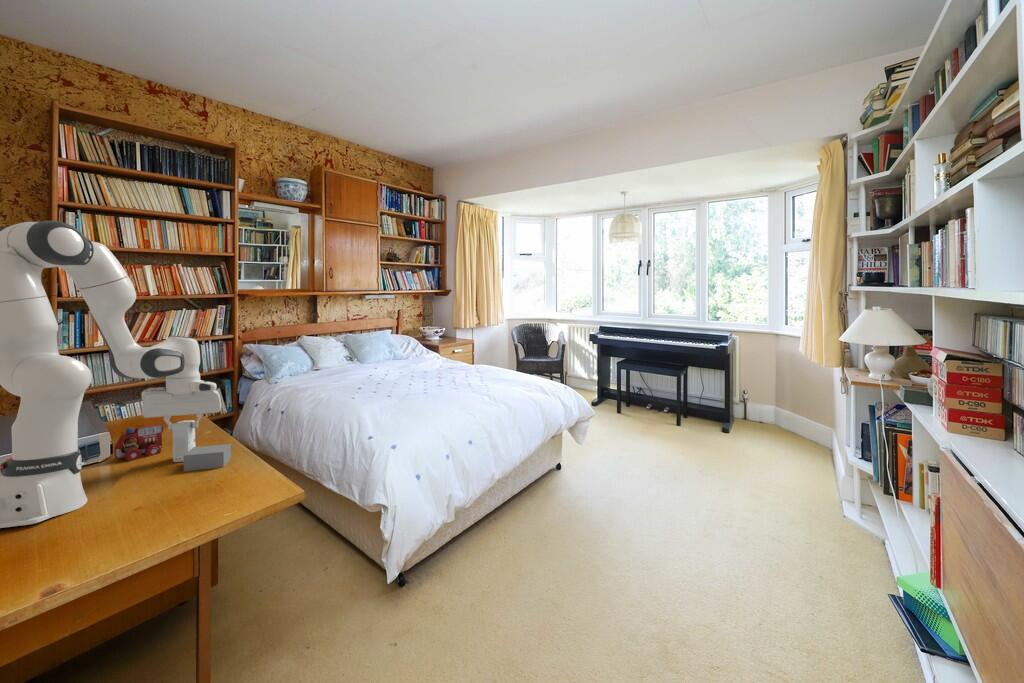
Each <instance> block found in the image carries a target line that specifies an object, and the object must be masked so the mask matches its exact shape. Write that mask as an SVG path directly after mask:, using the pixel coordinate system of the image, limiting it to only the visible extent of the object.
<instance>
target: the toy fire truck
mask: <svg viewBox="0 0 1024 683" xmlns="http://www.w3.org/2000/svg"><path fill="white" fill-rule="evenodd" d="M163 432H164V424H160V423H159V424H152V425H145V426H140V427H139V426H137V427H136V428H135V429H134V428H132V427H127V428H126V430H125V433H124V434H121V435H120V437H119V438H118V440H117V441H116V442H115V445H114V447H113V452H114V457H115V459H123V458H124V459H125V460H126V461H128V462H130V461H135V460H138V459H140V458H141V456H142V454H143V455H145V456H146V457H151V456H155V455H159V454H160V455H161V452H162V449H163V437H162V436H163V435H162V434H163Z"/></svg>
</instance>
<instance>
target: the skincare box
mask: <svg viewBox="0 0 1024 683" xmlns="http://www.w3.org/2000/svg"><path fill="white" fill-rule="evenodd" d="M193 422H196V421H195V420H193V419H192V420H180V421H178V422H175V423H172V424H173V425H172V429H173V430H172V458H173V459H172V461H173V462H174V463H180V462H183V463H184V458H183V456H184V455H185V454H186V453H187V452H189V451H190V450H191V449H192V448H193V447H196V428H192V426H193V425H192V423H193Z"/></svg>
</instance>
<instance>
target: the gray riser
mask: <svg viewBox="0 0 1024 683" xmlns="http://www.w3.org/2000/svg"><path fill="white" fill-rule="evenodd" d="M183 458H184V461H183V472H192V471H201V470H210V469H220V468H224V467H225V466H226V465H227V464H228V463H229V461H230V460H231V459H232V444H231V443H227V444H217V445H216V444H215V445H206V446H205V445H204V446H195V447H193V448H192V449H191V450H190V451H189V452H187V453H186V454H185V455H184V456H183ZM230 458H231V459H230Z"/></svg>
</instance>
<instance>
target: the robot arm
mask: <svg viewBox="0 0 1024 683" xmlns="http://www.w3.org/2000/svg"><path fill="white" fill-rule="evenodd" d="M56 267H58V268H59V269H61V270H63V271H65V273H67V274H68V276H70V278H71V280H72V281H73V283H74V285H75V287H76V288H77V290H78V292H79V293H80V295H81V296H82V298H83V300H84V301H85V303H86V305H87V306H88V309H89V311H90V315H91V317H92V319H93V322H94V323H95V327H96V328H97V330H98V332H99V333H100V336H101V337H102V340H103V342H104V344H105V345H106V347H107V349H108V351H109V358H110V360H109V361H110V367H111V369H112V371H113V372H114V373H115V374H116V375H118V376H119V377H121V378H124V379H127V380H136V379H147V380H148V379H154V380H155V379H161V378H165V386H159V387H147V388H146V389H144V390H143V391H142V392H141V394H140V396H141V401H142V402H143V404H142V410H141V411H142V413H141V415H142V417H144V418H145V419H148V418H160V417H161V418H163V421H164V422H165V423H166V425H167V427H168V428H167V429H168V431H173V429H172V425H173V424H174V423H172V422H171V421H170V419H171V417H172V416H173V417H174V416H188V415H196V418H197V420H196V421H195V422H193V423H192V425H193V426H192V428H195V429H196V428H197V429H198V428H199V422H200V421H201V419H202V417H203V414H215V413H220V412H221V410H222V401H221V399H222V398H221V395H220V393H219V391H218V390H217V383H216V382H213V381H208V380H207V381H206V380H202V379H201V373H200V371H199V370H200V369H199V368H200V364H201V353H200V352H201V351H200V345H199V342H198V341H197V339H195V338H193V337H188V336H181V335H171V336H168V337H167V339H165V340H163V341H162V342H160V343H157V344H154V345H151V346H141V345H139V344H138V343H137V342H136V341H135V339H134V338H133V336H132V334H131V332H130V329H129V327H128V325H127V323H126V320H125V314H126V313H127V311H128V310H129V309H130V308H131V307H132V306H133V305H134V303H135V302H136V300H137V292H136V289H135V288H136V287H135V285H134V284H133V282H132V280H131V279H130V277H129V275H128V274H127V272H126V270H125V269H124V267H123V266H122V264H121V263H120V261H119V260H118V259H117V257H116V256H115V255H114V254H113V252H112V251H111V250H110V249H109V248H108V247H107V246H106V245H105V244H102V243H100V242H97V241H91V240H90V239H89V238H87V237H86V236H85V235H84V233H83V232H82V231H81V230H79V229H78V228H76V227H75V226H74V225H71V224H69V223H67V222H66V223H65V222H62V221H58V220H57V221H56V220H42V221H26V222H19V223H15V224H13V225H7V226H4V227H1V228H0V386H1V387H2V388H3V389H4V390H5V391H7V393H9V394H12V395H14V396H16V397H20V401H19V407H18V412H17V415H16V418H15V420H14V422H13V423H12V425H11V450H12V451H11V453H12V454H11V456H10V457H8V458H6V459H5V460H4V461H3V462H2V463H0V474H1V475H0V529H2V528H11V527H18V526H27V525H33V524H34V525H35V524H37V523H40V522H42V521H43V522H44V521H45V520H48V519H50V518H53V517H57V516H60V515H65V514H67V513H70V512H73V511H75V510H78V509H80V508H82V507H84V506H85V505H86V503H87V502H88V497H87V495H86V493H85V489H84V486H83V482H82V476H81V471H82V460H83V459H82V454H81V449H79V428H78V426H79V425H78V424H79V416H80V410H81V407H82V403H83V398H84V396H85V391H86V390H87V389H88V388H89V387H90V385H91V383H92V372H91V370H90V368H89V367H88V366H87V365H86V364H84V363H83V362H81V361H80V360H78V359H76V358H74V357H71V356H67V355H61V354H60V353H59V347H58V331H59V324H58V321H57V319H56V315H55V313H54V310H53V308H52V305H51V303H50V299H49V298H48V295H47V293H46V289H45V288H44V285H43V284H42V272H43V270H44V269H46V268H47V269H49V268H50V269H51V268H56Z"/></svg>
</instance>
